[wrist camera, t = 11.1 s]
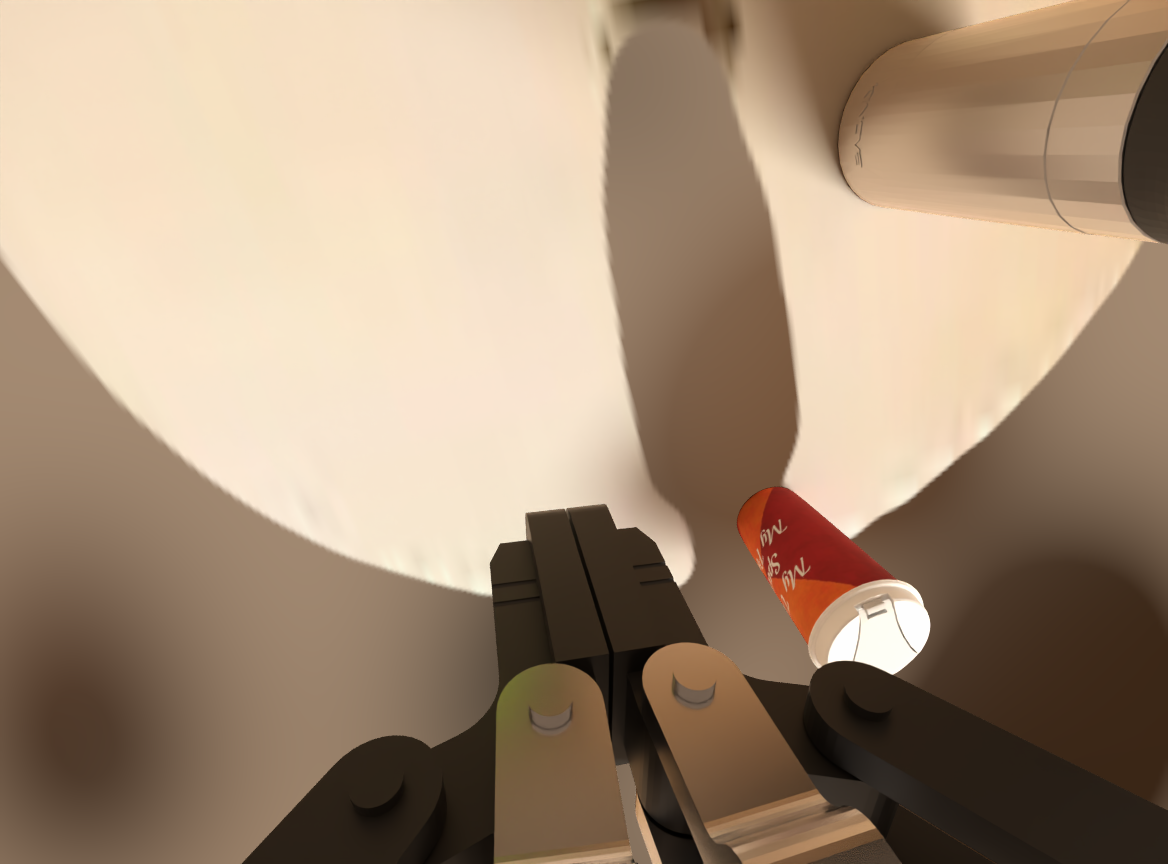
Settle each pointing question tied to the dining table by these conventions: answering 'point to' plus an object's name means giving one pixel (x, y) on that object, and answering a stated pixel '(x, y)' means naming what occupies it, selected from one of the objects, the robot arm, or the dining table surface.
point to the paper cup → (832, 585)
